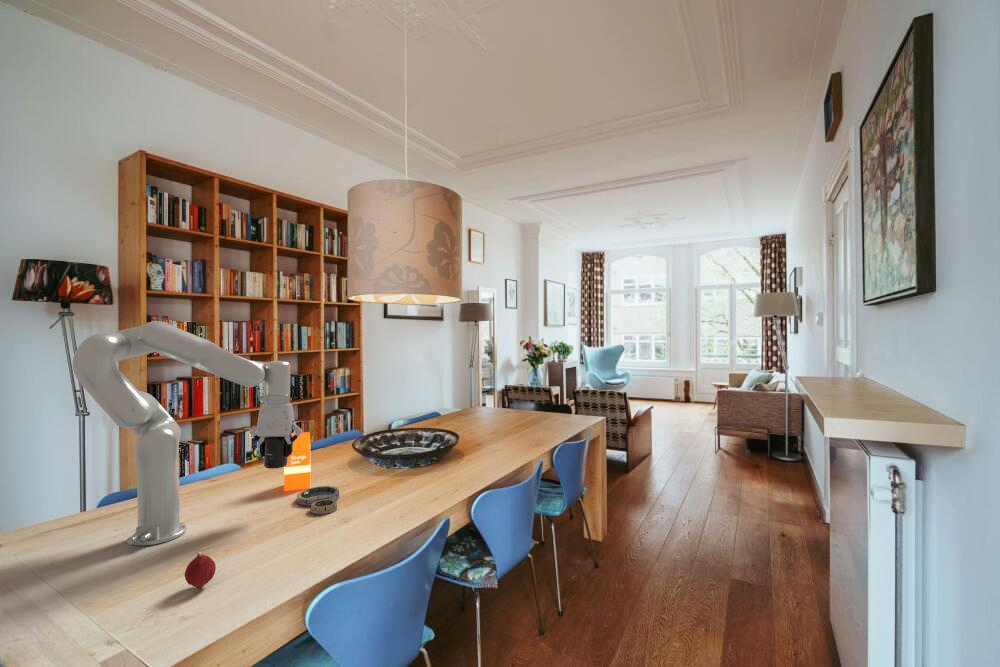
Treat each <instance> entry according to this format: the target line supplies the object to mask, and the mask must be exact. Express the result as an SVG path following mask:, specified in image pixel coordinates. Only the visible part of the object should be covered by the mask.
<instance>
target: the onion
mask: <svg viewBox="0 0 1000 667" xmlns="http://www.w3.org/2000/svg"><path fill="white" fill-rule="evenodd" d="M216 567H217V566H216V563H215V561H214V560H213V558H211V557H210V556H209V555H206V554H203V553H202V552H201V551H198V552H197V554H196V556H195V557H194V558H193V559H192V560H191V561H190V562H189V563H188V564H187V566H186V569H185V570H184V571H185V572H184V579H185V581H186V582H187V584H188V585H191V586H192V587H194V588H197V589H201V588H203V587H204V586H205V585H207V584H208V583H209V582H210V581H211V580H212V579H213V578H214V577H215V576H214V575H215V573H216Z"/></svg>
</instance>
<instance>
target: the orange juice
mask: <svg viewBox="0 0 1000 667" xmlns="http://www.w3.org/2000/svg"><path fill="white" fill-rule="evenodd" d="M295 434H296V432H293V433H292V436H294V435H295ZM311 462H312V461H311V432H310V431H305V432H304V431H303V432H302V434H301V435H300V436H299V437H298V438H297V439H296V440H295V441H294V442H293V452H292V453H291V455H290V456H288V463H287V465H286V466H284V467H283V482H284V483H283V484H284V485H283V489H284V490H283V491H284V492H288V491H290V492H291V491H296V490H306V489H309V488H311V481H312V480H311V478H312V477H311V473H312V472H311V464H312V463H311Z"/></svg>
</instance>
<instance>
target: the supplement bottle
mask: <svg viewBox="0 0 1000 667" xmlns="http://www.w3.org/2000/svg"><path fill="white" fill-rule="evenodd" d="M286 444H287V442H286V440H285V438H284V437H267V438H266V439H265V442H264V457H263V467H264V468H266V469H271V470H273V469H274V470H275V469H280V468H284V466H286V465H287V463H288V457H285V445H286Z"/></svg>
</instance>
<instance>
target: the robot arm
mask: <svg viewBox="0 0 1000 667" xmlns="http://www.w3.org/2000/svg"><path fill="white" fill-rule="evenodd" d="M153 353H155V354H156V353H157V354H159V355H161V356H164V357H167V358H170V359H172V360H175V361H179V362H180V363H183V364H185V365H189V366H190V367H193V368H196V369H197V370H201V371H203V372H207V373H210V374H213V376H214V375H215V376H217V377H219V378H222V379H224V380H227V381H229V382H232V383H234V384H237V385H240V386H242V387H243V386H244V387H246V388H254V387H257V386H259V385H260V384H262V383H263V395H262V396H259V398H258V399H259V401H261V402H262V404H260V406H259V411H258V417H257V423H256V424H257V425H256V426H254V427H253V428H251V430H250V431H249V434H250V435H251V436H252V437H253V439H254V440H255V441H256V442H257V444H258V445H259V454H260V458H264V442H265V439H266V438H267V437H284V438H285V440H286V442H287V444H286V445H285V457H288V456H290V455H291V453H292V452H293V442H294V441H295V440H296V439H297V438H298V437H299V436H300V435H301V434H302V433H304V431H303V429H302V428H301V427H299V425H298V424H296V423H295V414H294V407H293V403H291V364H290V362H288V361H286V360H271V361H258V360H250V359H248V358H244V357H243V356H240V355H238V354H235V353H232V352H230V351H228V350H226V349H224V348H222V347H220V346H219V345H217V344H216V343H215V342H212V341H210V340H209V339H206V338H204V337H200V336H198V335H195V334H193V333H191V332H188V331H186V330H184V329H181V328H179V327H176V326H173V325H171V324H170V323H167V322H165V321H160V320H153V321H150V322H149V321H148V322H147V323H145V324H143V325H139V326H134V327H129V328H125V329H120V330H116V331H112V332H106V331H105V332H97V333H94V334H92V335H89V336H88V337H87V338H85V339H84V340H83V341H82V342H81V343H80V344H79V345H78V347H77V349H76V350H75V352H74V355H73V359H72V370H73V373H74V376H75V378H76V380H77V381H78V382H79V384H80V385H81V387H82V388H83V389H84V390H85V391H86V392H87V393H88V394H89V395H90V396H91V397H92V399H93V400H94V402H96V403H97V405H98V406H99V407H100V408H101V409H102V410H103V411H104V412H105V413H106V415H107V416H108V417H109V418H110V420H111V421H112V422H113V423H114V424H115V425H116V426H118V427H120V428H123V429H128V430H129V429H130V430H131V431H132V432H133V433H134V434H135V436H136V437H137V439H136V442H135V448H134V449H135V450H134V451H135V463H136V485H137V489H136V490H137V492H136V493H137V496H136V497H137V526H136V527H135V532H134V533H133V534H132V535H131V536H129V537H128V538H127V539H126V544H128V545H134V546H142V547H143V546H152V545H158V544H162V543H166V542H169V541H172V540H174V539H177V538H179V537H181V536H182V535H183V534H184V533H186V531H187V525H186V524H185V523H182V522H180V521H181V520H180V518H181V517H180V516H181V515H180V513H181V512H180V510H181V509H180V506H181V505H180V503H181V502H180V455H179V454H180V452H179V451H180V450H179V447H180V440H181V436H182V430H181V427H180V425H179V424H178V423H177V421H176V420H175V419H174V418H173V417H172V415H170V413H169V412H168V410H166V409H165V408H164V406H162V404H161V403H160V402H159V400H157V398H155V397H154V396H153V395H152V394H150V393H148V392H145V391H142V390H138V389H137V388H136V387H135V385H133V384H132V383H131V381H130V380H129V378H128V377H127V376H126V375H125V374H124V373H123V372H122V371H120V370H119V368H118V366H117V362H120V361H124V360H128V359H131V358H135V357H140V356H144V355H149V354H153ZM292 433H296V434H295V435H294V436H292Z"/></svg>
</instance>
